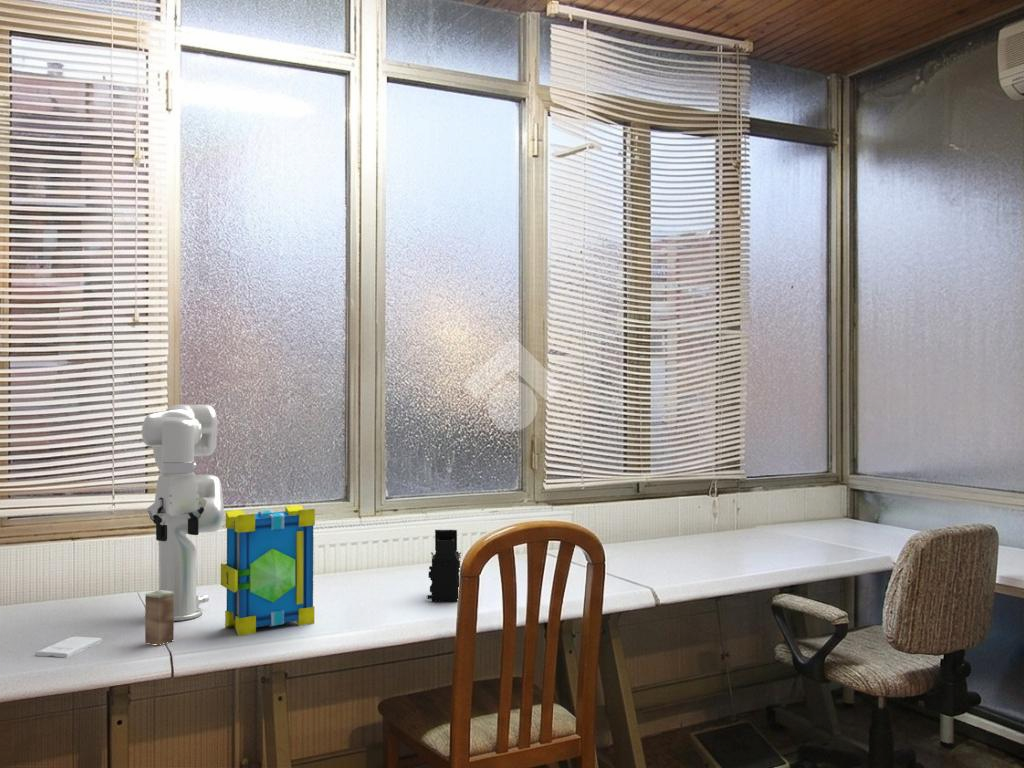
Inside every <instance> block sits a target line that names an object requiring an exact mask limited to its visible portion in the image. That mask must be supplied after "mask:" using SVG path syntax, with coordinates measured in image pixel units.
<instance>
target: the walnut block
mask: <svg viewBox="0 0 1024 768" xmlns="http://www.w3.org/2000/svg"><path fill="white" fill-rule="evenodd" d="M144 597H145V602H144V603H145V607H144V608H145V609H144V611H145V614H144V615H145V617H144V619H145V626H144V627H145V628H144V629H145V630H144V631H145V633H144V635H145V637H144V641H145V642H144V643H150V644H157V645H160V644H163V643H167V642H170V641H172V640H174V635H175V634H174V633H175V632H174V631H175V629H174V627H175V626H174V625H175V624H174V622H175V621H174V592H171V591H164V590H159V589H158V590H155V591H154V590H153V591H151V592H148V593H147V592H146V593H145V595H144ZM170 643H171V642H170ZM150 644H149V645H150ZM167 644H168V643H167ZM160 646H161V645H160Z"/></svg>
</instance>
